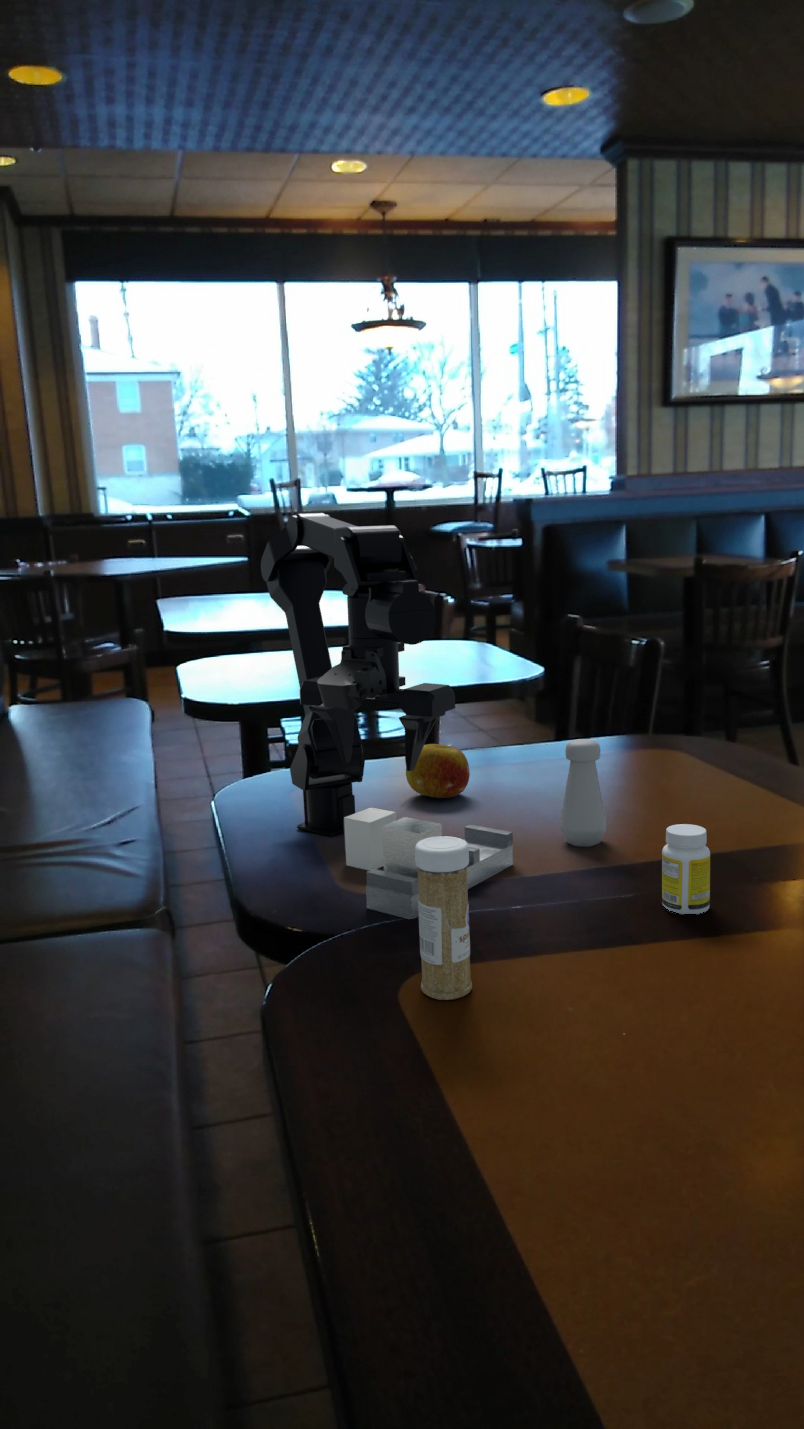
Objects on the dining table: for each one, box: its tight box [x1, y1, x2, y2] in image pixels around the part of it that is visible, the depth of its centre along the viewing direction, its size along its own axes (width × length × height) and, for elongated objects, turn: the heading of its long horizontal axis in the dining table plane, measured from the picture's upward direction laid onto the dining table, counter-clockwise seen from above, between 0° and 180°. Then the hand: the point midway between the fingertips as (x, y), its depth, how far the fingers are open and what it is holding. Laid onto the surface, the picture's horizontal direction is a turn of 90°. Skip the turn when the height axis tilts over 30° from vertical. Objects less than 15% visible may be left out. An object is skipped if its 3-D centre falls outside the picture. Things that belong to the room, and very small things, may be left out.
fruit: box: [405, 743, 471, 799], centre depth 149 cm, size 10×9×8 cm
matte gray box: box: [343, 807, 397, 871], centre depth 121 cm, size 5×5×6 cm
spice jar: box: [415, 835, 473, 1001], centre depth 86 cm, size 5×5×14 cm
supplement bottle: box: [661, 823, 711, 915], centre depth 103 cm, size 5×5×8 cm
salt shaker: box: [559, 738, 607, 847], centre depth 125 cm, size 6×6×13 cm
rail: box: [365, 816, 514, 920], centre depth 112 cm, size 6×20×8 cm, turn 143°
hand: (377, 766), depth 120 cm, fingers open, 9 cm apart
